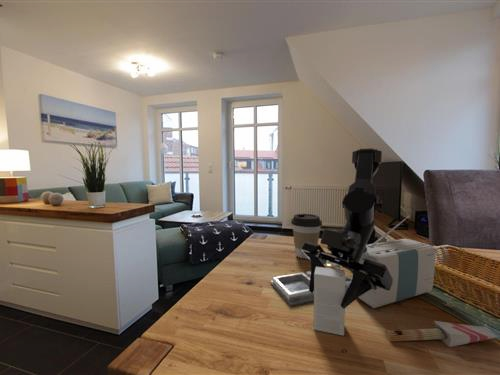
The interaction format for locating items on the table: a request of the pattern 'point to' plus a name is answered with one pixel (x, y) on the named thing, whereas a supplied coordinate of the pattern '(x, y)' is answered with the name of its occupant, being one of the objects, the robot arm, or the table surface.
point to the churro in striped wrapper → (444, 334)
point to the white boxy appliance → (401, 269)
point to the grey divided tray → (299, 286)
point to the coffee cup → (305, 231)
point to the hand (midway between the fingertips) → (325, 299)
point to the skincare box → (329, 300)
